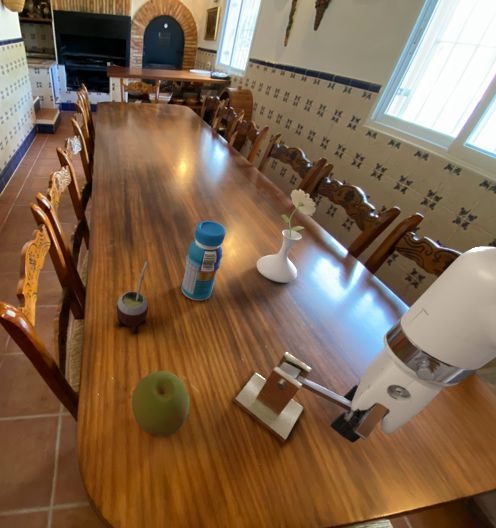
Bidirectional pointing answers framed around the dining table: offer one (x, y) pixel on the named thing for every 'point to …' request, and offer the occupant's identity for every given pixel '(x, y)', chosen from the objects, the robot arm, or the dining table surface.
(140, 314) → the mate gourd
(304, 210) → the flower in vase
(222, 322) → the dining table surface
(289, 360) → the bracket
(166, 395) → the apple
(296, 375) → the lever
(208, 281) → the beverage bottle
